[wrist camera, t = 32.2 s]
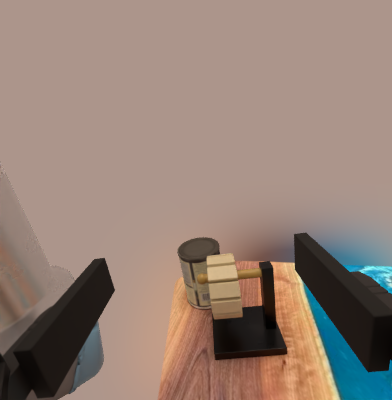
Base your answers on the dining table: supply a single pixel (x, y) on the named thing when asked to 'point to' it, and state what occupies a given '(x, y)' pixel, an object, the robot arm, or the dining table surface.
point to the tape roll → (224, 286)
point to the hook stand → (250, 322)
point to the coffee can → (197, 269)
